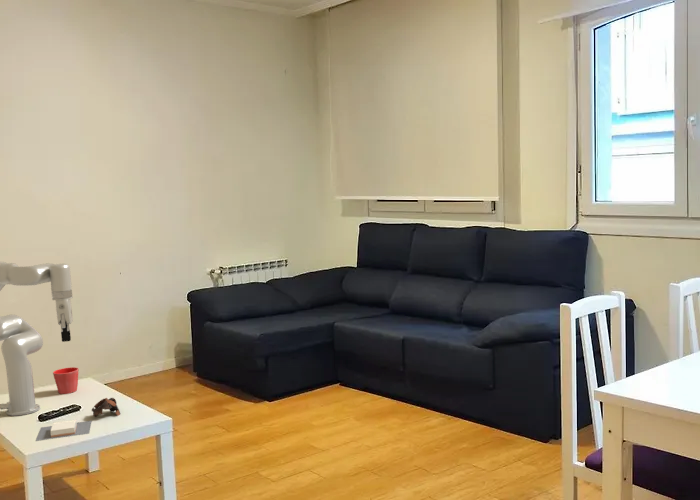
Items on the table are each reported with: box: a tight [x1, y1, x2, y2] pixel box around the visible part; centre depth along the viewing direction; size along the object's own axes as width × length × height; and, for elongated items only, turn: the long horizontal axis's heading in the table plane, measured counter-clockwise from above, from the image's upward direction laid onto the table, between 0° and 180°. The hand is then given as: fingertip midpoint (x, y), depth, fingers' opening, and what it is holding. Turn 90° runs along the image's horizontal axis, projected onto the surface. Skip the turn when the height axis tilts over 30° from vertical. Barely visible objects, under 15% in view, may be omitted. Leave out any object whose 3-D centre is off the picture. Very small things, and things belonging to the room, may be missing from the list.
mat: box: [35, 420, 92, 442], centre depth 272 cm, size 18×16×1 cm
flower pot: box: [52, 366, 79, 395], centre depth 329 cm, size 11×11×10 cm
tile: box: [51, 419, 78, 437], centre depth 270 cm, size 8×2×10 cm
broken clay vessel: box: [91, 397, 121, 417], centre depth 289 cm, size 12×10×8 cm
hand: (66, 340), depth 293 cm, fingers closed
